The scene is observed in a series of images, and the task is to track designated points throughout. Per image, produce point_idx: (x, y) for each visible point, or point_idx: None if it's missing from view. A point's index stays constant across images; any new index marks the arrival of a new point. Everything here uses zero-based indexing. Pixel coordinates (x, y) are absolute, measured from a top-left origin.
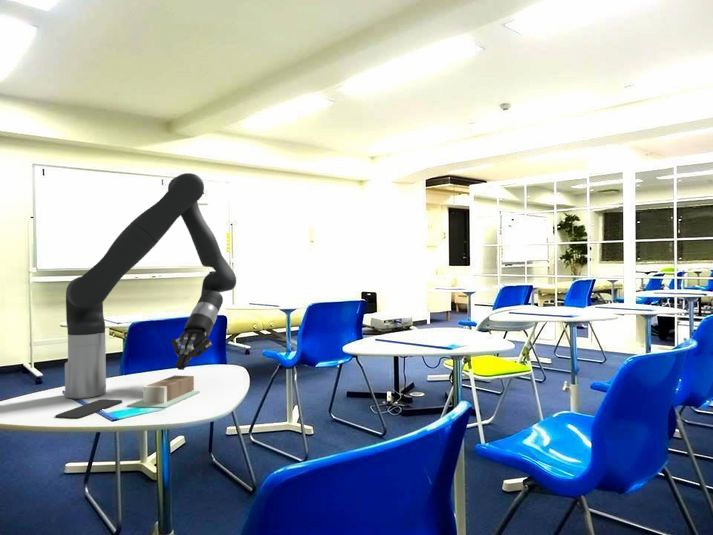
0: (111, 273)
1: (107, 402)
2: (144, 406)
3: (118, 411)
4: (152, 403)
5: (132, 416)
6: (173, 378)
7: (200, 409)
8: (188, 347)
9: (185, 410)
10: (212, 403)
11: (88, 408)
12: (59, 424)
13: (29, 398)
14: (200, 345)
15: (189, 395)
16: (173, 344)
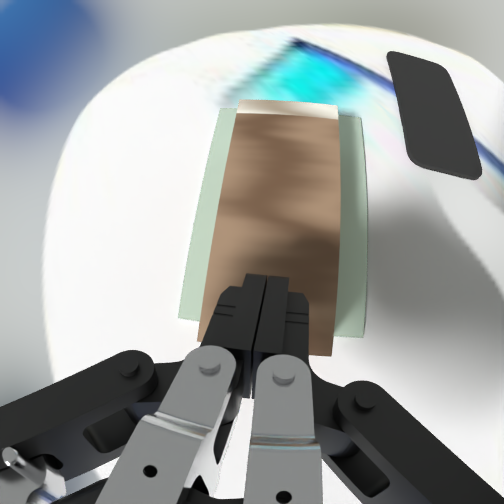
0: None
1: (436, 140)
2: None
3: (344, 84)
4: None
5: (274, 58)
6: (293, 268)
7: (121, 120)
8: (192, 428)
9: (156, 105)
10: (98, 172)
11: (431, 97)
12: (388, 35)
13: None
14: (42, 413)
15: (195, 242)
16: (460, 478)
